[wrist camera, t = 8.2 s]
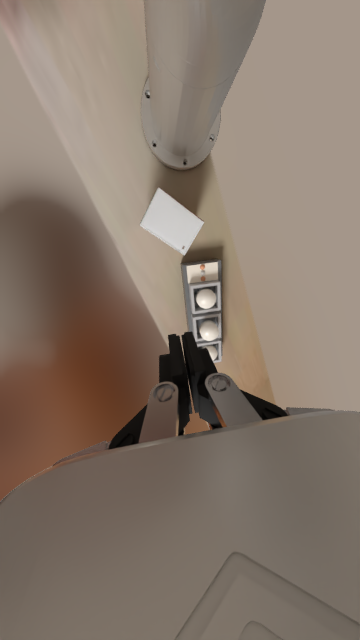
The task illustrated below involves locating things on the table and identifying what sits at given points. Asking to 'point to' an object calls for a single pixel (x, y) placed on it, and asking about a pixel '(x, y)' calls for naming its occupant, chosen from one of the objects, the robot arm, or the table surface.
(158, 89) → the robot arm
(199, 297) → the button
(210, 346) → the button
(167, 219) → the small box
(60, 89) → the table surface
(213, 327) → the button middle
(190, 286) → the button board
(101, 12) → the table surface
